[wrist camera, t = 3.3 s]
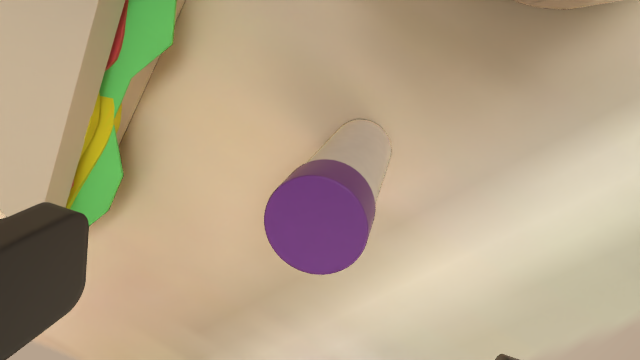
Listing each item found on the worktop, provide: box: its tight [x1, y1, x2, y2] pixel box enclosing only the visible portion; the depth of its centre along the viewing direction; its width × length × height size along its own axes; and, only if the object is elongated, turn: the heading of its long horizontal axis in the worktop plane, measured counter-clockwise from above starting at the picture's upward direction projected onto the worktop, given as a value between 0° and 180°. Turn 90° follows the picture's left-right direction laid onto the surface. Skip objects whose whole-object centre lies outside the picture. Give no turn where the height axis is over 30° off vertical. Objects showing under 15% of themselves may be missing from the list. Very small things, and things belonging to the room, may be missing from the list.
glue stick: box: [264, 119, 391, 275], centre depth 17 cm, size 3×3×9 cm
